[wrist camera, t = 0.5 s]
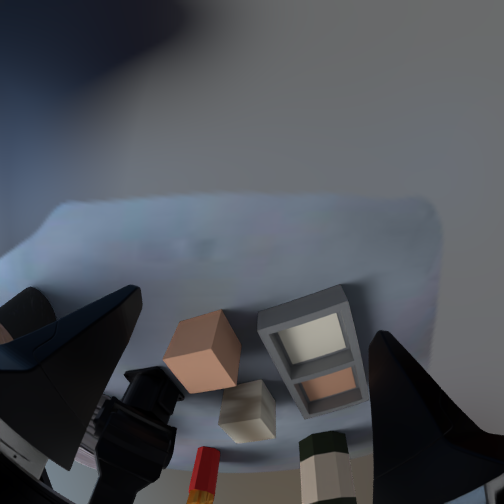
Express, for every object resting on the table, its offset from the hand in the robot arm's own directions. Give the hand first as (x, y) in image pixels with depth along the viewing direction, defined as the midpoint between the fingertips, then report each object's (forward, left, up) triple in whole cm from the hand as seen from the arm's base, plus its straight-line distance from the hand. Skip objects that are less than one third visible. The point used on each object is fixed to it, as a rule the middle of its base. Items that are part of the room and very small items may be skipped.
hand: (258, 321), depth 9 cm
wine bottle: (-4, -39, -15) cm, 42 cm away
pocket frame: (0, -17, -15) cm, 22 cm away
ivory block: (-10, -21, -15) cm, 27 cm away
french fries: (-25, -37, -15) cm, 47 cm away
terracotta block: (-10, -10, -15) cm, 20 cm away
